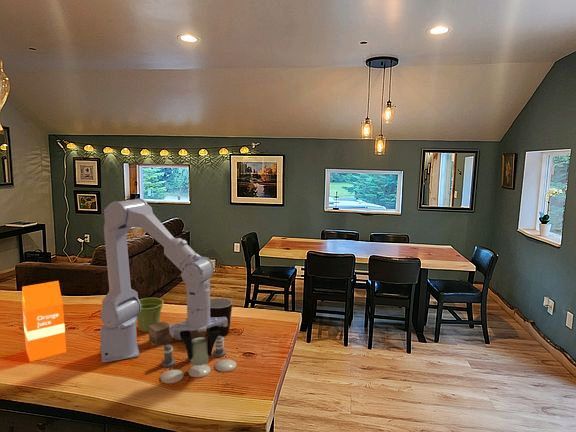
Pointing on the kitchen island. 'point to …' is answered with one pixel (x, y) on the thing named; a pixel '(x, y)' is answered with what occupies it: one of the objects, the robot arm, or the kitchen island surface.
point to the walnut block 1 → (159, 334)
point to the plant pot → (149, 313)
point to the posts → (170, 361)
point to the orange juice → (43, 320)
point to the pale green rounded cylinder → (199, 351)
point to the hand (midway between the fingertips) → (199, 355)
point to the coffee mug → (221, 312)
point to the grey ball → (177, 336)
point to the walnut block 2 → (197, 333)
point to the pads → (197, 371)
